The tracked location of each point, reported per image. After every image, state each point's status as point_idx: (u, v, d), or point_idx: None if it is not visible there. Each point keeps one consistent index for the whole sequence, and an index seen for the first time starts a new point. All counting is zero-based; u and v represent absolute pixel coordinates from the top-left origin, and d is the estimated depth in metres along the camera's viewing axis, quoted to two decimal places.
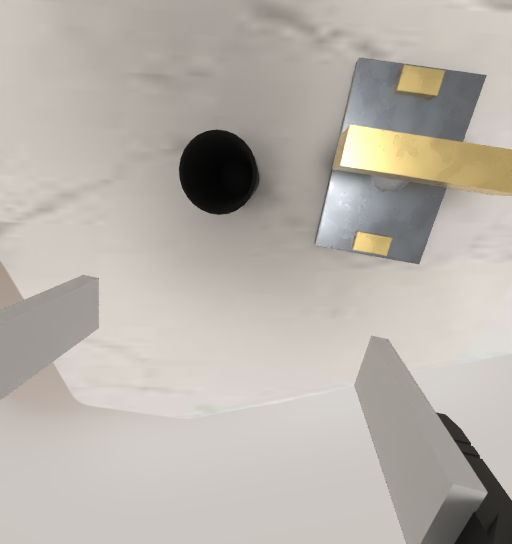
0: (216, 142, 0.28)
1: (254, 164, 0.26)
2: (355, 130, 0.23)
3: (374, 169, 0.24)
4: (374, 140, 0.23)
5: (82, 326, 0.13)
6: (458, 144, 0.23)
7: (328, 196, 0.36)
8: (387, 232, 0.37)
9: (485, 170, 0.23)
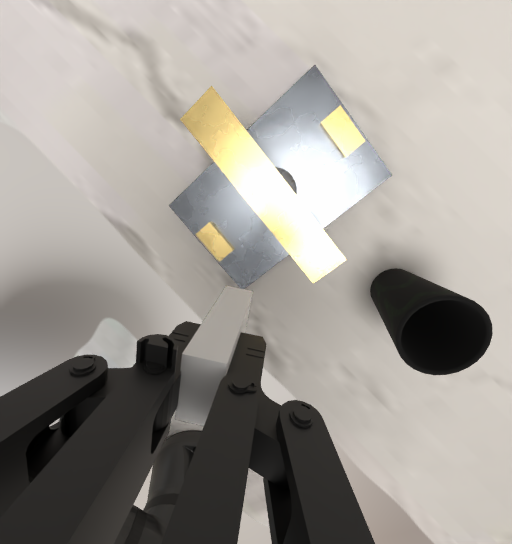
0: (406, 348, 0.27)
1: (406, 317, 0.24)
2: (312, 275, 0.22)
3: (323, 231, 0.21)
4: (305, 255, 0.22)
5: None
6: (244, 194, 0.21)
7: (340, 212, 0.32)
8: (318, 131, 0.30)
9: (236, 150, 0.20)
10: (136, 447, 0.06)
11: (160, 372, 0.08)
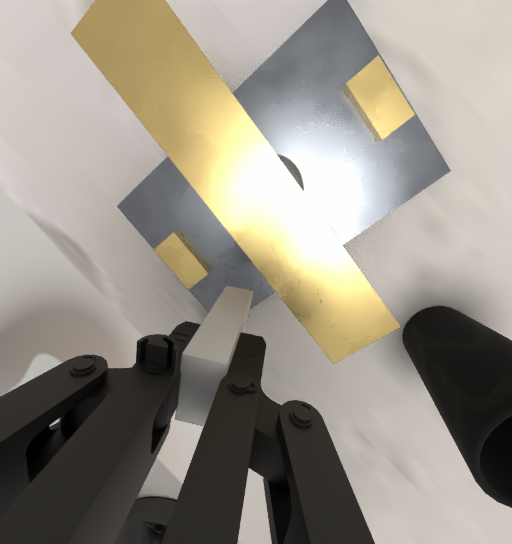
0: None
1: (496, 423, 0.13)
2: (333, 351, 0.12)
3: (358, 273, 0.11)
4: (320, 314, 0.12)
5: None
6: (206, 195, 0.11)
7: (367, 224, 0.22)
8: (340, 98, 0.19)
9: (188, 103, 0.10)
10: (136, 447, 0.06)
11: (160, 372, 0.08)
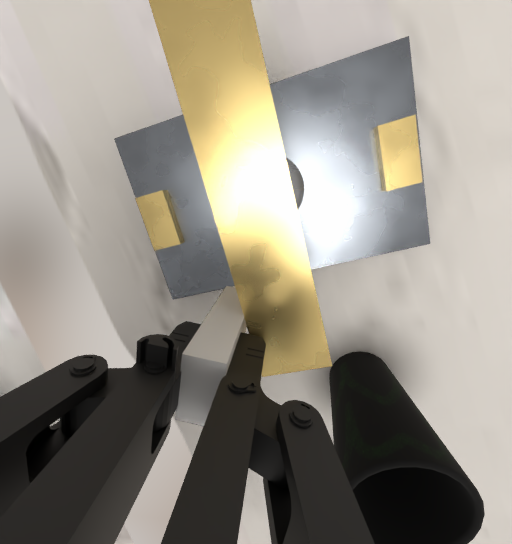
0: None
1: (374, 471, 0.15)
2: (266, 365, 0.13)
3: (316, 306, 0.11)
4: (268, 329, 0.12)
5: None
6: (208, 178, 0.10)
7: (342, 260, 0.23)
8: (367, 137, 0.20)
9: (226, 83, 0.10)
10: (136, 447, 0.06)
11: (160, 372, 0.08)
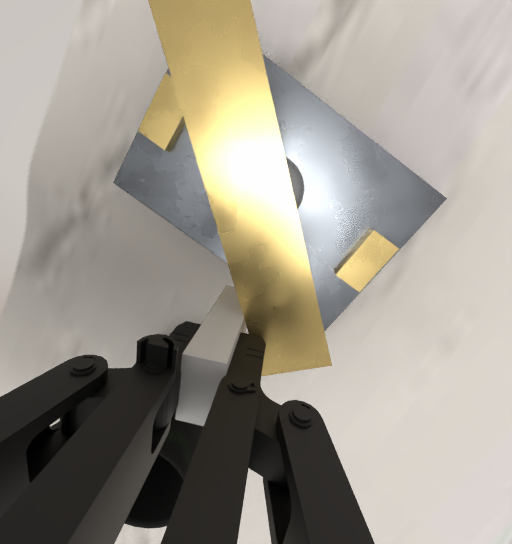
0: None
1: None
2: (266, 364, 0.13)
3: (316, 306, 0.11)
4: (268, 328, 0.12)
5: None
6: (207, 177, 0.10)
7: None
8: (362, 228, 0.22)
9: (225, 82, 0.10)
10: (136, 447, 0.06)
11: (160, 372, 0.08)
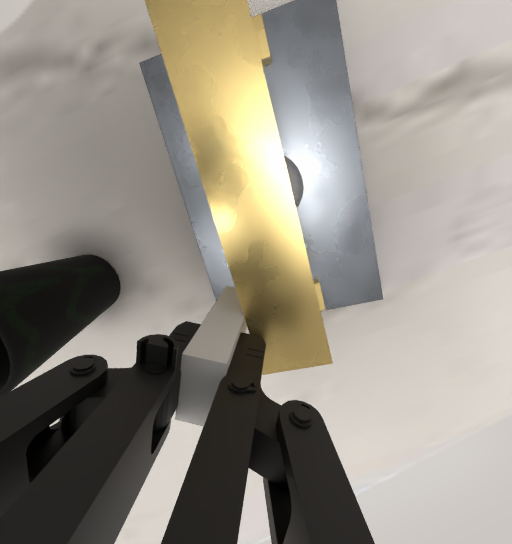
0: None
1: None
2: (266, 363, 0.13)
3: (316, 303, 0.11)
4: (268, 327, 0.12)
5: None
6: (206, 176, 0.10)
7: (206, 261, 0.24)
8: (312, 274, 0.23)
9: (222, 80, 0.09)
10: (136, 447, 0.06)
11: (160, 372, 0.08)
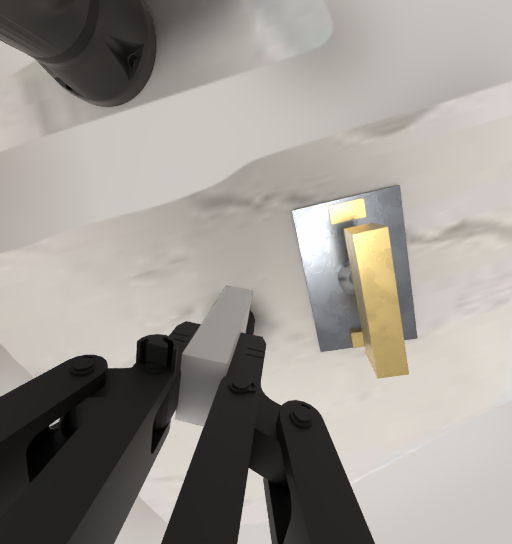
0: None
1: None
2: (380, 373, 0.30)
3: (404, 350, 0.29)
4: (383, 358, 0.29)
5: None
6: (366, 302, 0.28)
7: (314, 312, 0.42)
8: None
9: (378, 273, 0.27)
10: (136, 447, 0.06)
11: (160, 372, 0.08)
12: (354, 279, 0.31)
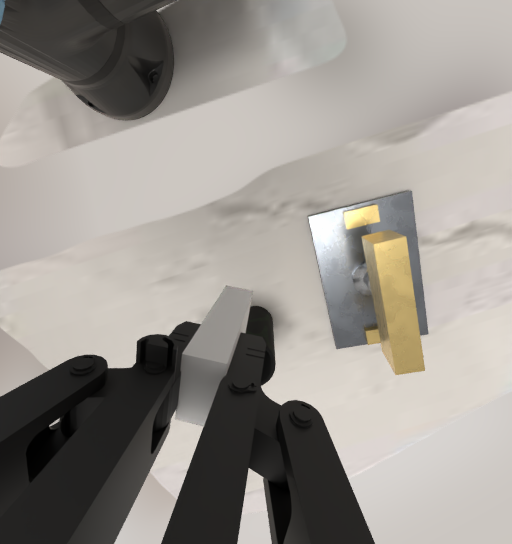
0: None
1: (268, 350, 0.35)
2: (398, 370, 0.32)
3: (420, 348, 0.31)
4: (401, 356, 0.32)
5: None
6: (386, 306, 0.30)
7: (330, 312, 0.44)
8: None
9: (397, 279, 0.29)
10: (136, 447, 0.06)
11: (160, 372, 0.08)
12: (372, 283, 0.33)
